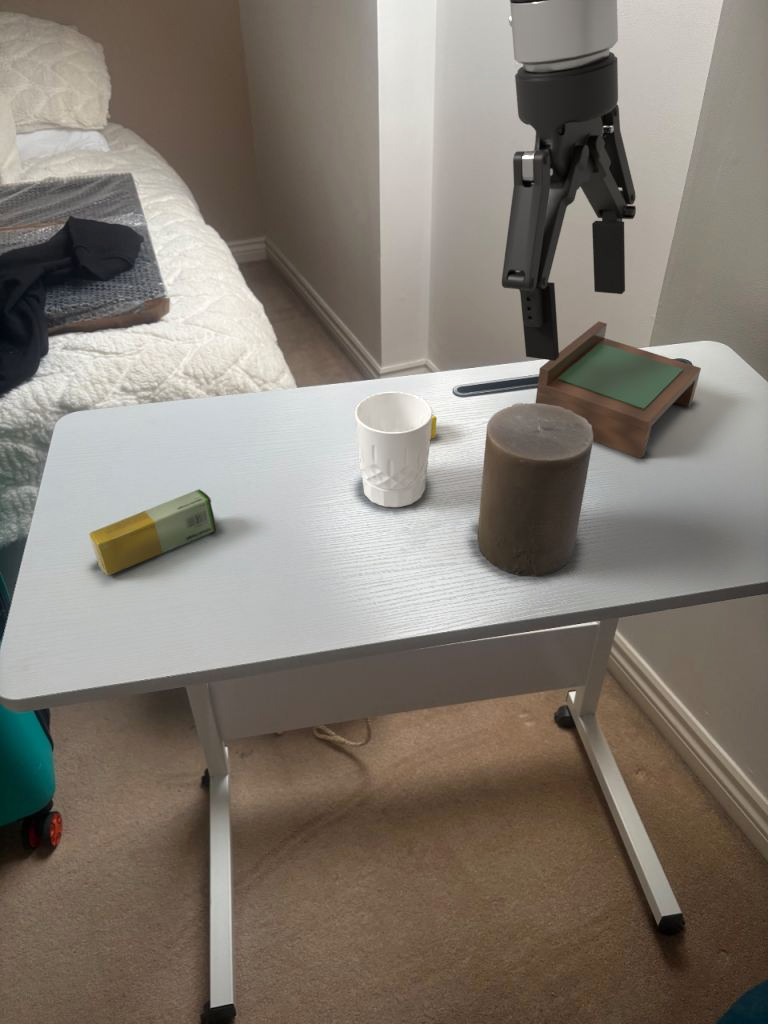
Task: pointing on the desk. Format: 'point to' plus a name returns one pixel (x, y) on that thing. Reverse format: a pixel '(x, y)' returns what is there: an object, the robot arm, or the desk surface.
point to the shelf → (615, 388)
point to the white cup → (393, 446)
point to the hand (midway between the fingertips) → (577, 322)
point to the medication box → (153, 532)
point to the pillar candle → (533, 487)
